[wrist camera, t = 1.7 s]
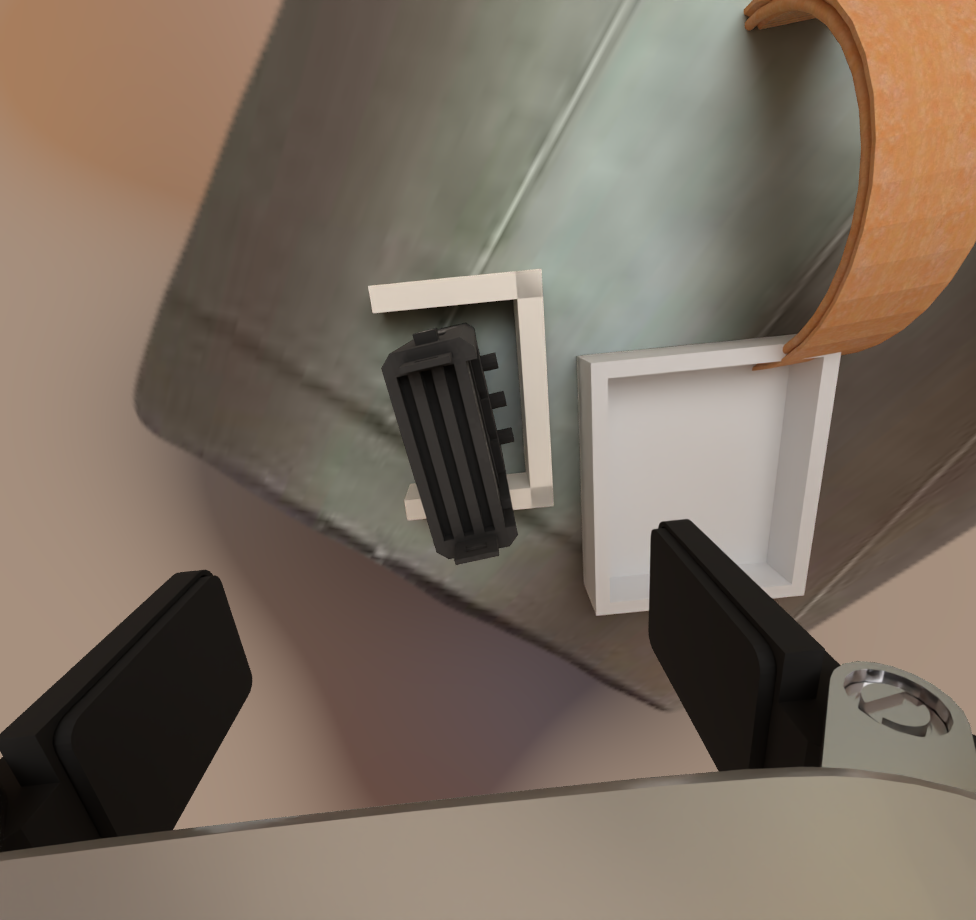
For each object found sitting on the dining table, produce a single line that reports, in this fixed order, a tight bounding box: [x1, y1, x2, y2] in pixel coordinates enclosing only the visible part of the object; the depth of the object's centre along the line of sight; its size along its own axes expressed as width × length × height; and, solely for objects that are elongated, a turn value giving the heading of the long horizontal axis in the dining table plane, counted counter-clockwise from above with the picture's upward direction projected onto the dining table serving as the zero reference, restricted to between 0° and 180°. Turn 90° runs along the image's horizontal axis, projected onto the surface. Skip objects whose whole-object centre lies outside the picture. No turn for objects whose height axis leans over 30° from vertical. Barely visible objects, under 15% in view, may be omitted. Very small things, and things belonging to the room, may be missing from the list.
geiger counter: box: [381, 323, 518, 565], centre depth 25 cm, size 10×4×15 cm, turn 13°
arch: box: [744, 0, 976, 371], centre depth 24 cm, size 6×20×10 cm, turn 10°
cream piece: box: [368, 269, 554, 520], centre depth 30 cm, size 10×15×3 cm, turn 5°
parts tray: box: [577, 334, 841, 616], centre depth 32 cm, size 15×18×4 cm
